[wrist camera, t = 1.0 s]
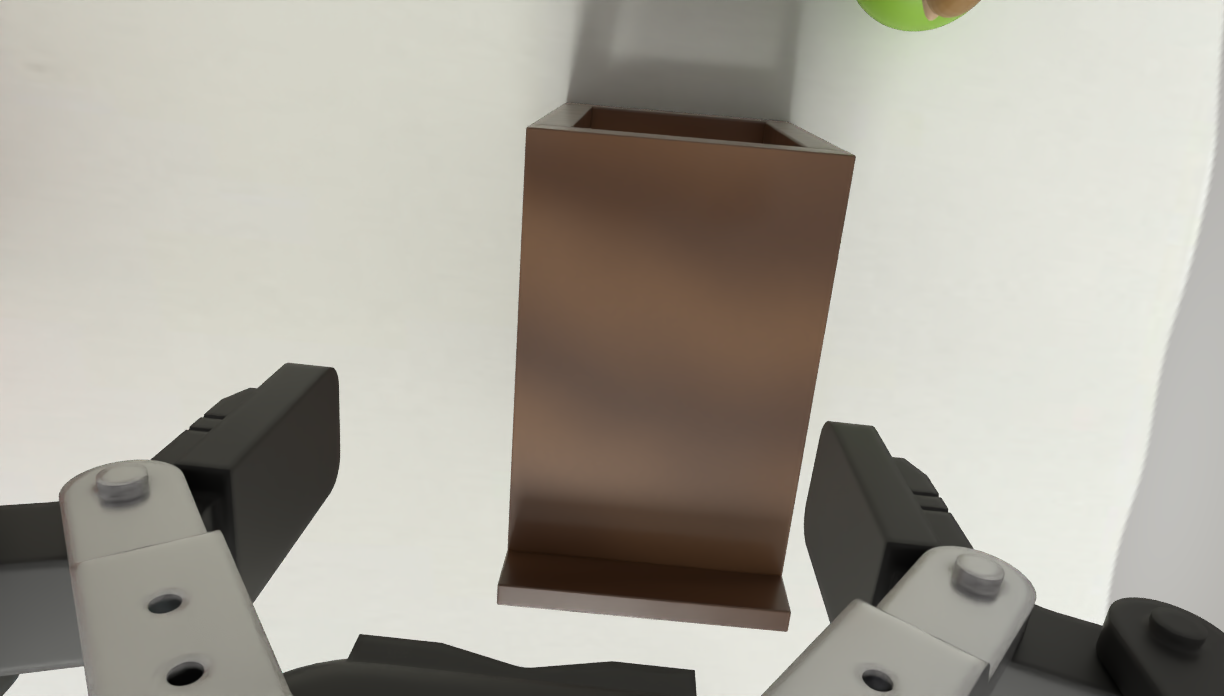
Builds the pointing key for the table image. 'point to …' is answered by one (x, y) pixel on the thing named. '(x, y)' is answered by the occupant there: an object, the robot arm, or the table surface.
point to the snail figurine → (916, 12)
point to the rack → (666, 360)
